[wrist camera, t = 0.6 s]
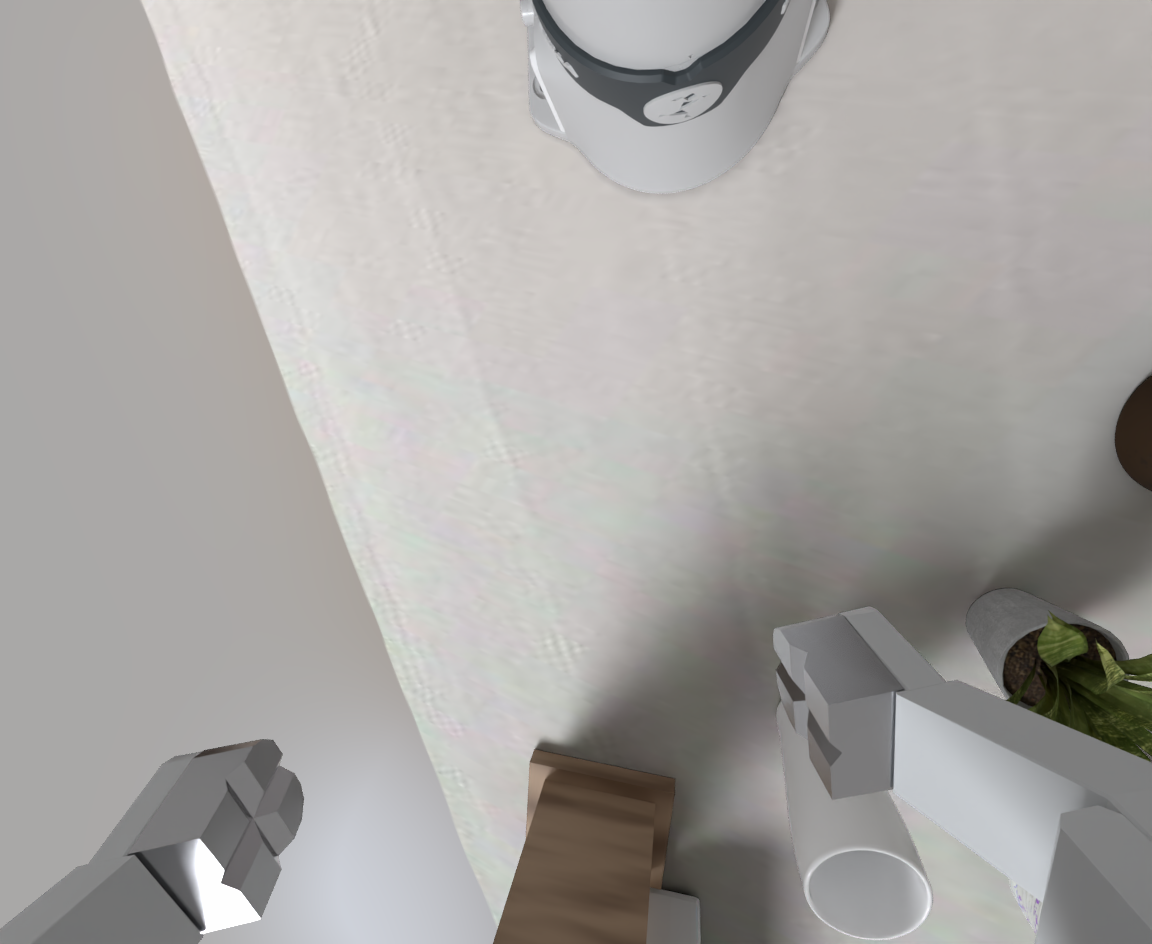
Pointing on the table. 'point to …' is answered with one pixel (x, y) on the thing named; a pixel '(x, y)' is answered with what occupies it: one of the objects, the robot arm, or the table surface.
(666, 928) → the stereo radio cassette player
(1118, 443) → the olive oil
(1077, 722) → the house plant
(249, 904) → the robot arm
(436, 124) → the table surface
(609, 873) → the stand
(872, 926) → the drinking glass
